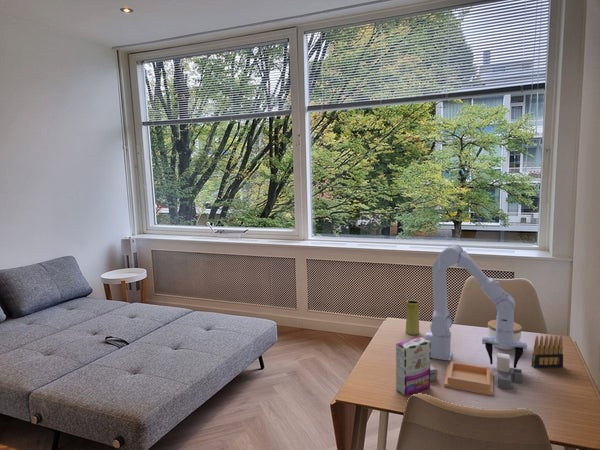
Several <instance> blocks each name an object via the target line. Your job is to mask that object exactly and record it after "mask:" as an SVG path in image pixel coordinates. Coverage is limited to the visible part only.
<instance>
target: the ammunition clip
mask: <svg viewBox="0 0 600 450" xmlns="http://www.w3.org/2000/svg"><path fill="white" fill-rule="evenodd" d="M563 344H564V343H563V336H562V334H561V335H560V336H559V338H558V335H555V336H554V338H553V335H550V336H549V337H548V335H546V336H545V337H544V336H543V335H541V336H540V339H539V336H538V335H536V336H535V340H534V345H533V352H532V355H531V356H532V359H531V367H533V368H534V369H543V368H544V369H545V368H546V369H552V368H557V369H558V368H560V369H561V368H563V367H564V354H563V353H564V352H563V350H564V345H563Z"/></svg>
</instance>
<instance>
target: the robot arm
mask: <svg viewBox="0 0 600 450" xmlns="http://www.w3.org/2000/svg"><path fill="white" fill-rule="evenodd" d="M455 264H456V267H457V268H463V269H465V270H467V272H469V274H471V276H472V277H473V278H474V279H475V280H476V281H477V282H478V283H479V284H480V290H481V291H482V292H483V293H484V295H485V296H487V298H488V299H489V300H490V302H492V303H493V304H494V305H495V309H496V319H495V320H496V338H489V337H484V336H482V339H481V343H482V345H484V346H485V347H484V348H485V350H486V352H487V355H488V358H489V362H490V365H493V362H494V361H493V352H494V351H493V350H494V347H493V346H494V345H498V346H502V347H513V349H514V357H513V368H515V369H517V365H518V362H519V360H520V358H521V357H522V355H523V354H524V351H527V349H528V348H527V347H528V344H527V342H523V341H515V340H513V331H514V322H515V318H514V317H515V308H516V301H515V299H514V297H513V296H512V295H510V294H509V293H508V292H506V291H505V290H504V289H503V288H502V287H501V286H500V281H498V280H497V281H496V280H495V279H492V278H488V277H487V275H486V274H485V272H484V271H483V270H482V269H481V268H480V267H479V265H478V264H477V263H476V262H475V261H474V259H473V258H472V257H471V256H470V255H469V253H468V252H467V251H466V250H464V248H462V247H461V246H460V245H459V244H451V245H449V246H448V247H446V248H445V249H444V250H442V251H441V252H439V253H438V256H437V257H436V258H435V260H434V262H433V263H432V265H431V271H432V272H431V273H432V274H431V275H432V290H433V292H432V296H433V313H432V321H431V323H430V326H429V327H430V331H427V332H425V333H426V334H425V339H426V340H429V341H431V351H430V352H431V353H430V354H431V356H430V359H435V360H443V361H449V362H451V361H452V355H453V351H451V341H452V332H451V331H450V328H451V327H452V325H453V320H452V318H451V317H450V311H449V309H448V288H447V269H448V268H450V267H451V266H454V265H455Z"/></svg>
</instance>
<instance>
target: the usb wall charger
mask: <svg viewBox="0 0 600 450" xmlns="http://www.w3.org/2000/svg"><path fill="white" fill-rule="evenodd" d="M436 380H438V369H437V368H435V367H434V366H433V365H432V364H430V382H431V381H436Z"/></svg>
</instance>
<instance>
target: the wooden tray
mask: <svg viewBox="0 0 600 450" xmlns="http://www.w3.org/2000/svg"><path fill="white" fill-rule="evenodd" d="M493 376H494V375H493V371H491V367H488V366H482V365H475V364H470V363H464V362H458V361H452V360H450V363H449V364H447V367H446V372H445V378H444V381H443V382H444V384H443V387H444V388H449V389H450V388H451V389H457V390H460V391H468V392H471V393H476V394H483V395H487V396H488V395H489V396H494V377H493Z"/></svg>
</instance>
